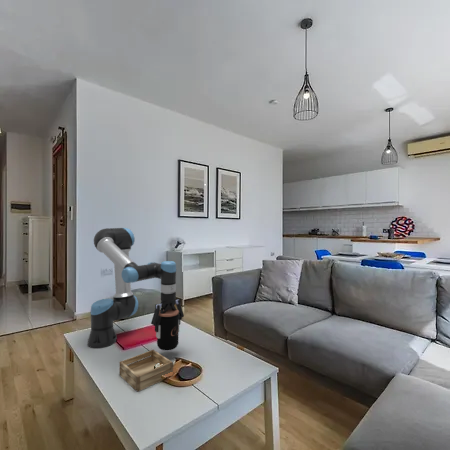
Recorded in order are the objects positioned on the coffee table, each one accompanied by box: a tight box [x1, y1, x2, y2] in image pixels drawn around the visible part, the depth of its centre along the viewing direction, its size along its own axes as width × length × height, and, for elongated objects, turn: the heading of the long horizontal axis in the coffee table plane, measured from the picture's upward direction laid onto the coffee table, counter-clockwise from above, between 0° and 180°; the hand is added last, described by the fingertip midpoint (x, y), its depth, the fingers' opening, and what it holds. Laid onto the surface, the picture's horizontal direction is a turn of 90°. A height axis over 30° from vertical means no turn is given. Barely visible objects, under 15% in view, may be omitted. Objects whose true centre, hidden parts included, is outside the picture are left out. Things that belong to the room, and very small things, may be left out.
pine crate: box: [118, 349, 174, 392], centre depth 125 cm, size 17×17×6 cm
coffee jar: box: [156, 308, 180, 351], centre depth 142 cm, size 11×11×18 cm
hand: (167, 334), depth 142 cm, fingers closed on coffee jar, 11 cm apart
